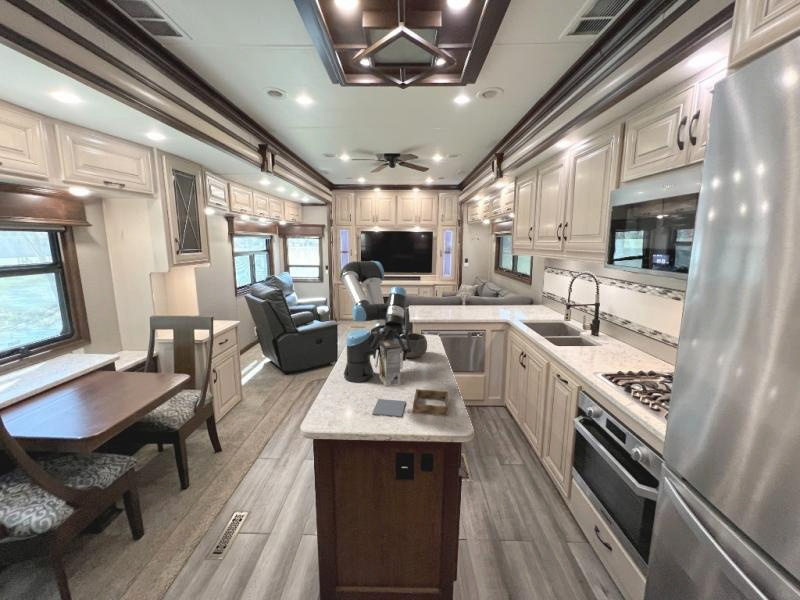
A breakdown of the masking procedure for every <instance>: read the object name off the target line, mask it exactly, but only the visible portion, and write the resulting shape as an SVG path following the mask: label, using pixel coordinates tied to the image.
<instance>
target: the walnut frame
mask: <svg viewBox="0 0 800 600" xmlns="http://www.w3.org/2000/svg"><path fill="white" fill-rule="evenodd" d="M419 398H420V399H431V400H445V401H444V403H445V404H444V406H443V405H434V404H421V403H418V399H419ZM412 403H413V404H412V414H420V413H421V414H422V415H423V414H424V415H432V414H433V416H444V417H445V416H446V417H447V416H448V415H449V412H448V411H449V391H444V390H434V389H433V390H431V389H420V388H419V389H418V388H417V389H415V394H414V399H413V402H412Z"/></svg>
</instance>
